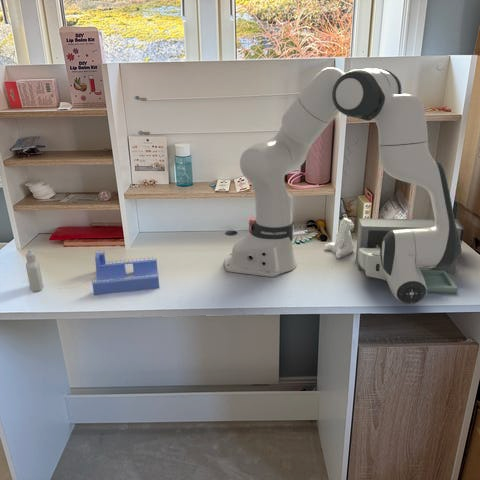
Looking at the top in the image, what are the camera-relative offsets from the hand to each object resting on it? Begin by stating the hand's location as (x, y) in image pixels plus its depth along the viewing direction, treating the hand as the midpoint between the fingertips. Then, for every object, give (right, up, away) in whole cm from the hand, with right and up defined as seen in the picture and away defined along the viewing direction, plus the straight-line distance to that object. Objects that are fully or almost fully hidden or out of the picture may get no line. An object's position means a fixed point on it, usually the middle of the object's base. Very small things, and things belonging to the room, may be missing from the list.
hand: (389, 247), depth 140 cm
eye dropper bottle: (-104, -12, -6) cm, 104 cm away
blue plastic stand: (-79, -10, -1) cm, 79 cm away
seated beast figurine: (-11, -2, +15) cm, 19 cm away
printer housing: (+5, -6, +4) cm, 9 cm away
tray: (+9, -10, -8) cm, 16 cm away
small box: (+23, -2, +13) cm, 26 cm away
